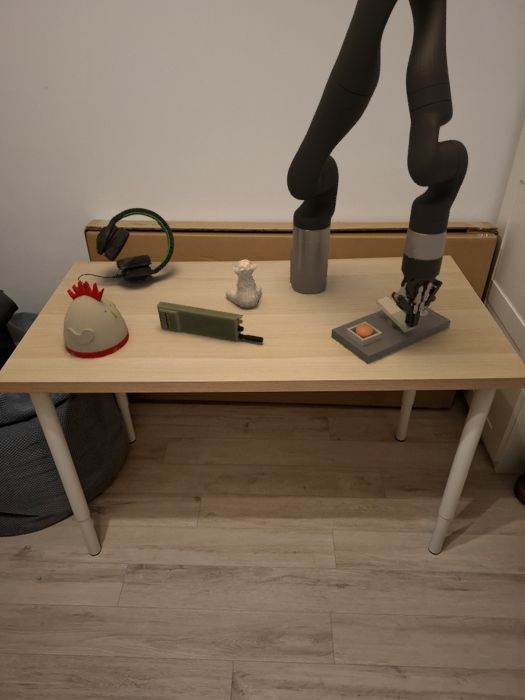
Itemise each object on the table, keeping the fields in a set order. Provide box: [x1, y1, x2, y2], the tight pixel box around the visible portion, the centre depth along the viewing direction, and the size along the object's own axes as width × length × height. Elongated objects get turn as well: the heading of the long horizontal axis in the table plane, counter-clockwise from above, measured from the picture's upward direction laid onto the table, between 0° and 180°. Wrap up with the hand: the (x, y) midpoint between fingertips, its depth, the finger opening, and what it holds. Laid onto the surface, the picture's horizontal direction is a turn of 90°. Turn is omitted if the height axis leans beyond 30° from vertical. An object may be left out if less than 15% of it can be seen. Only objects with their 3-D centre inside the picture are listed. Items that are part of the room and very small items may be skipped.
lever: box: [422, 295, 437, 312], centre depth 110 cm, size 2×2×6 cm
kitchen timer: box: [62, 280, 130, 359], centre depth 105 cm, size 14×14×15 cm
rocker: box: [375, 296, 416, 332], centre depth 107 cm, size 10×3×1 cm, turn 32°
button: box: [356, 324, 373, 339], centre depth 105 cm, size 4×4×2 cm
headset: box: [76, 207, 175, 288], centre depth 126 cm, size 18×14×29 cm
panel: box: [330, 303, 452, 365], centre depth 109 cm, size 12×25×4 cm, turn 122°
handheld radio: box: [156, 301, 264, 344], centre depth 109 cm, size 7×3×25 cm
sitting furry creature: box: [225, 259, 262, 309], centre depth 119 cm, size 10×9×12 cm
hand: (411, 325), depth 104 cm, fingers closed
